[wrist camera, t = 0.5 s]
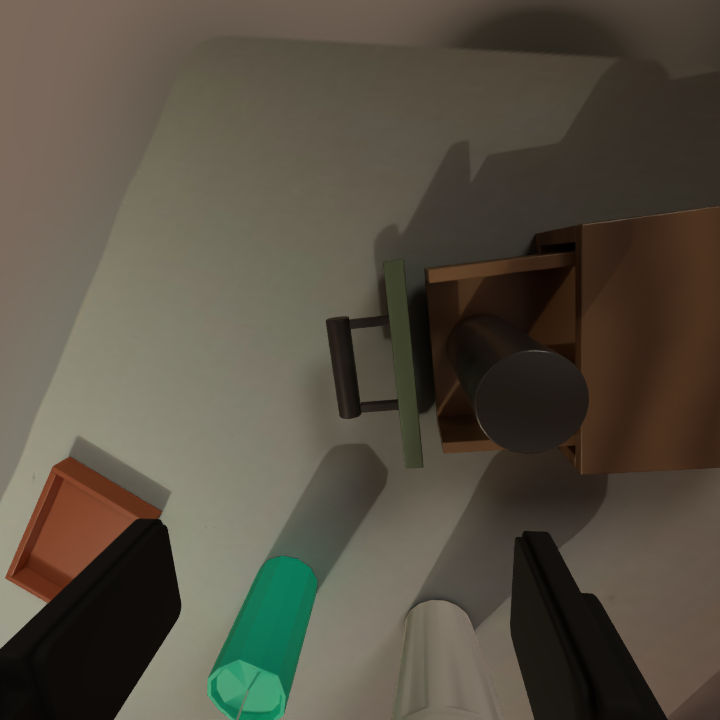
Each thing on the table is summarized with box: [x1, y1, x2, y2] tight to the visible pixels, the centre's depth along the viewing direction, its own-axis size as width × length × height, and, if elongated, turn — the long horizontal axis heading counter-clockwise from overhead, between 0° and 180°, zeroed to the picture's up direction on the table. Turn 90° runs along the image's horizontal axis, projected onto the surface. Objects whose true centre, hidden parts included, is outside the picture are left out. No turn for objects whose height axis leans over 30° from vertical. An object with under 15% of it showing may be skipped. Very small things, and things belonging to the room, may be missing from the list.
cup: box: [391, 600, 506, 720], centre depth 31 cm, size 10×10×13 cm
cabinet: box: [535, 206, 720, 475], centre depth 25 cm, size 16×15×8 cm
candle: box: [207, 556, 318, 720], centre depth 33 cm, size 6×6×12 cm
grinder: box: [447, 314, 589, 453], centre depth 23 cm, size 5×5×12 cm
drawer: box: [326, 249, 575, 468], centre depth 27 cm, size 19×14×6 cm
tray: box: [5, 457, 162, 603], centre depth 39 cm, size 15×10×2 cm
